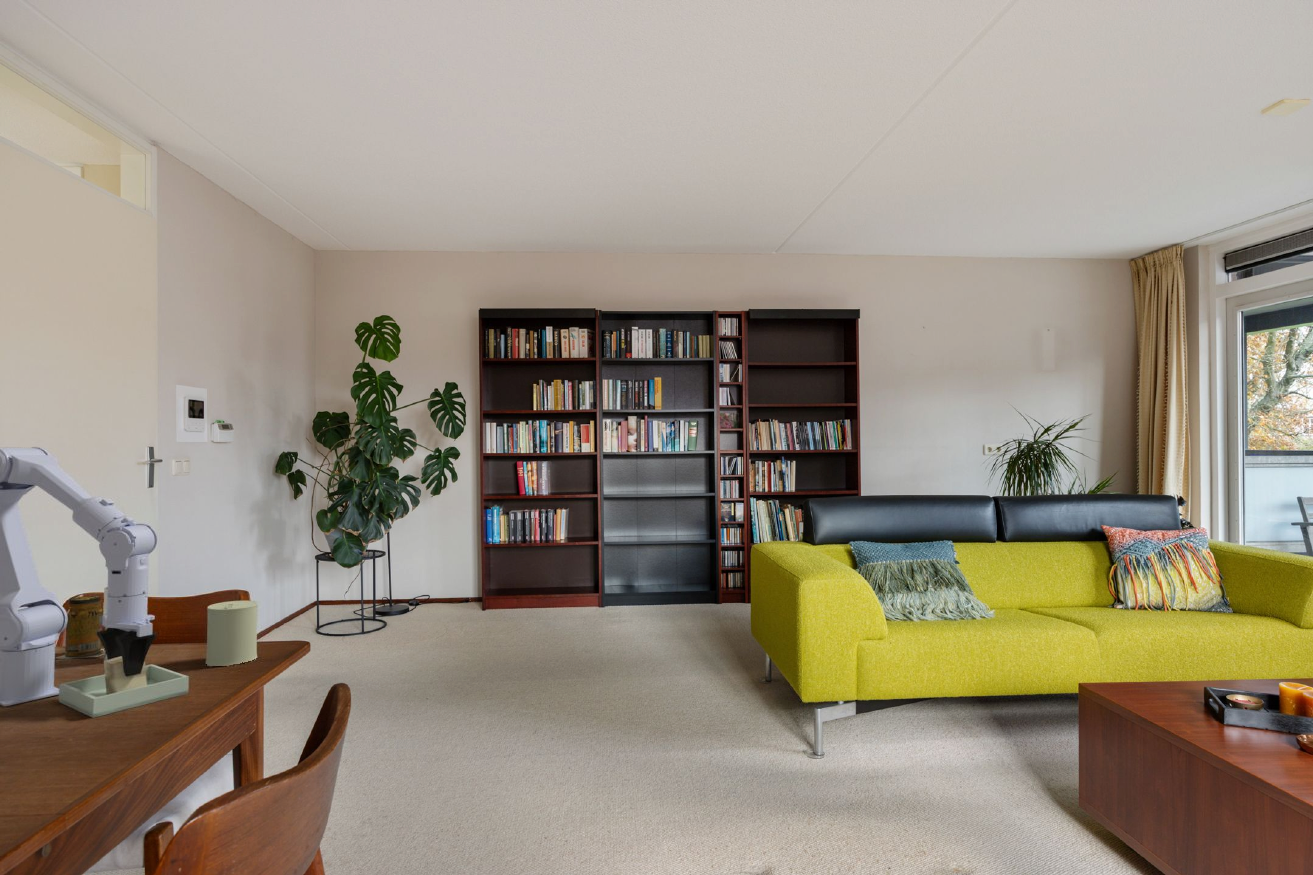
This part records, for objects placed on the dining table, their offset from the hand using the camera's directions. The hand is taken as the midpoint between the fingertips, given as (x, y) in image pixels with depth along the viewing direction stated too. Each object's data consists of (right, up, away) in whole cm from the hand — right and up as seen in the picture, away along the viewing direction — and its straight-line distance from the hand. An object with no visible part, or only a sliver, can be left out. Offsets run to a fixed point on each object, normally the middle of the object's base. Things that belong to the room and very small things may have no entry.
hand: (125, 672), depth 123 cm
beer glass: (-19, -5, +24) cm, 31 cm away
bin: (0, -4, 0) cm, 4 cm away
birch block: (0, -4, 0) cm, 4 cm away
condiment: (-29, -6, +27) cm, 40 cm away
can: (+5, -5, +23) cm, 24 cm away
